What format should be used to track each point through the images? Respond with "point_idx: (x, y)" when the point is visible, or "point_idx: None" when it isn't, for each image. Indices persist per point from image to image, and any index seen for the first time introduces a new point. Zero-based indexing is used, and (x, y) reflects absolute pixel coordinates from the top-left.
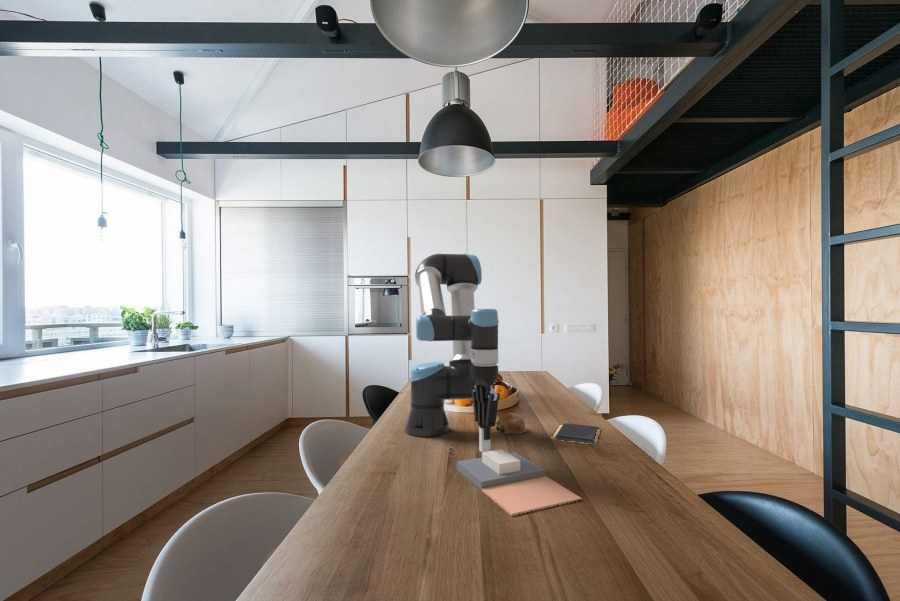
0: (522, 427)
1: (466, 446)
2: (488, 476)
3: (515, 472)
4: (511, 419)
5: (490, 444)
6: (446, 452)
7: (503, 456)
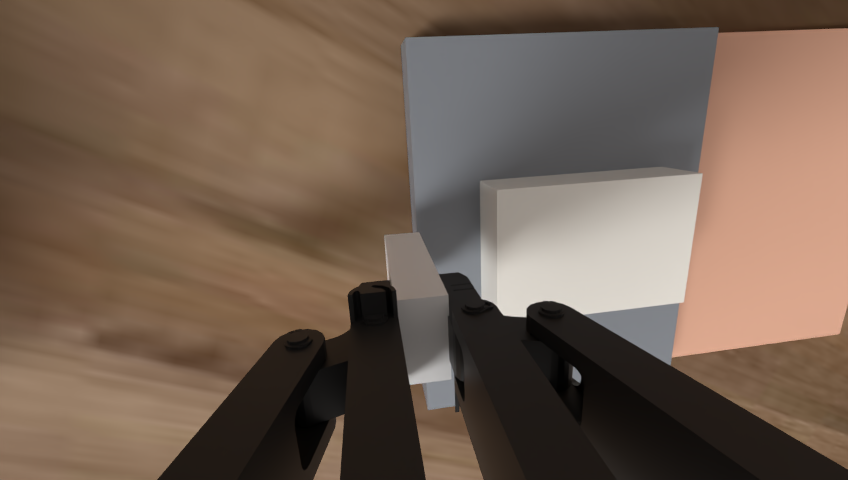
0: None
1: (78, 241)
2: (642, 332)
3: None
4: None
5: (423, 243)
6: (175, 378)
7: (607, 235)
